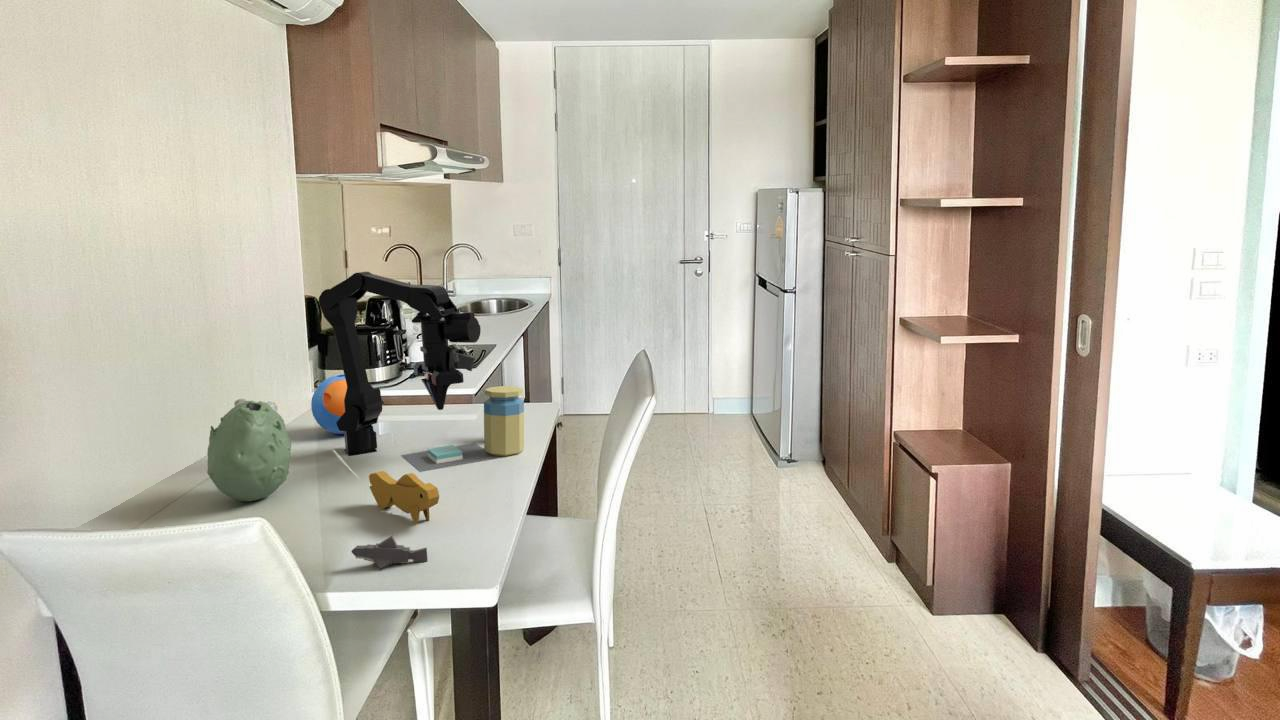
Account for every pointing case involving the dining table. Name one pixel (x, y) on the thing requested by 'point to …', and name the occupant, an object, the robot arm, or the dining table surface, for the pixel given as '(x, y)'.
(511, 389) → the jar
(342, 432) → the treat dispenser ball
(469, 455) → the mat
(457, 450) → the tile
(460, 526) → the dining table surface
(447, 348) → the robot arm
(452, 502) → the dining table surface
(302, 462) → the dining table surface
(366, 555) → the animal figurine
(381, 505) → the decorative fish
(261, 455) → the green rounded lump
